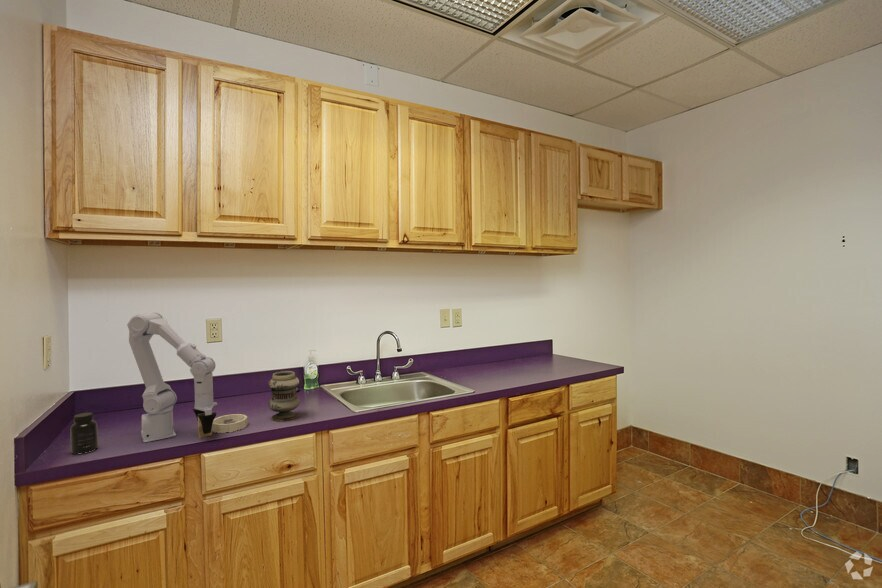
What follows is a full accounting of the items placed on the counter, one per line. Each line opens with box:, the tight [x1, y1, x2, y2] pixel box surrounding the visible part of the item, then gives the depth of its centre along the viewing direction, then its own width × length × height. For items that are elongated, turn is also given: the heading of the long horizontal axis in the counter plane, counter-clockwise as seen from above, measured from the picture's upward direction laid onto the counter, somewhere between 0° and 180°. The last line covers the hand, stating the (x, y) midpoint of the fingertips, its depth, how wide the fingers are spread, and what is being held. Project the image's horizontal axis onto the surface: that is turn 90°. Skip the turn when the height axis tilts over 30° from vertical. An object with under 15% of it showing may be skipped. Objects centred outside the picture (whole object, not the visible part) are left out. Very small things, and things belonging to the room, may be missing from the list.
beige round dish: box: [212, 413, 249, 434], centre depth 161 cm, size 12×12×3 cm
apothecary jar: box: [267, 370, 301, 422], centre depth 171 cm, size 12×12×18 cm
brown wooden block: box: [197, 413, 213, 439], centre depth 152 cm, size 4×2×8 cm, turn 130°
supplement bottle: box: [69, 412, 99, 455], centre depth 139 cm, size 7×7×12 cm
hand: (204, 430), depth 152 cm, fingers open, 7 cm apart
